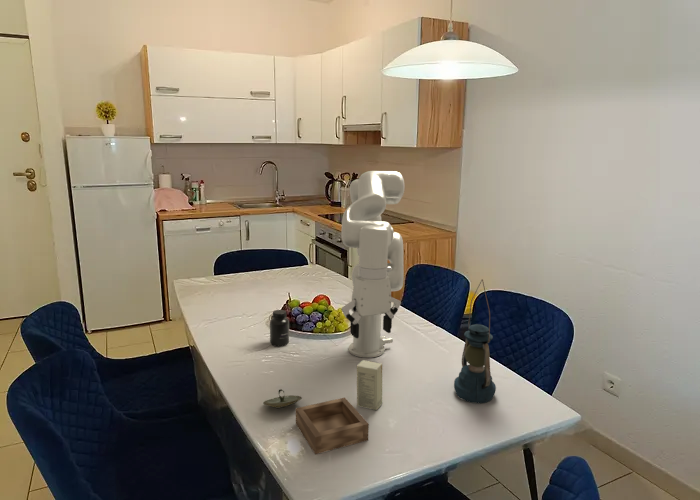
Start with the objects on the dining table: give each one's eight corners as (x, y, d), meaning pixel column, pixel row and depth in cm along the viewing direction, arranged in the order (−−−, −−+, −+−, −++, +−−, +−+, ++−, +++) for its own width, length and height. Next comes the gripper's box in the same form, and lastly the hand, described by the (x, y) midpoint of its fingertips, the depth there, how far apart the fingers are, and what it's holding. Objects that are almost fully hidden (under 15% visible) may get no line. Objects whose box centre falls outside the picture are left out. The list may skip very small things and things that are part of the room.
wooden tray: (344, 412, 136) (344, 397, 135) (368, 440, 124) (368, 423, 123) (295, 424, 130) (295, 408, 129) (315, 454, 118) (315, 437, 117)
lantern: (505, 403, 142) (516, 285, 135) (468, 409, 139) (477, 288, 131) (479, 380, 156) (487, 271, 148) (444, 385, 152) (451, 274, 145)
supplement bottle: (285, 348, 177) (285, 315, 175) (267, 346, 179) (266, 314, 176) (291, 340, 184) (291, 309, 181) (274, 338, 185) (273, 307, 183)
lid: (268, 420, 132) (268, 403, 131) (259, 402, 141) (258, 386, 140) (306, 412, 136) (306, 395, 135) (295, 395, 145) (295, 379, 144)
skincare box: (382, 403, 141) (384, 363, 138) (376, 411, 137) (378, 369, 135) (361, 398, 144) (362, 359, 141) (355, 405, 140) (356, 365, 137)
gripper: (394, 266, 139) (392, 325, 143) (336, 272, 132) (336, 333, 135) (408, 272, 132) (405, 334, 136) (349, 279, 125) (348, 343, 129)
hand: (371, 333), depth 136 cm, fingers open, 9 cm apart
